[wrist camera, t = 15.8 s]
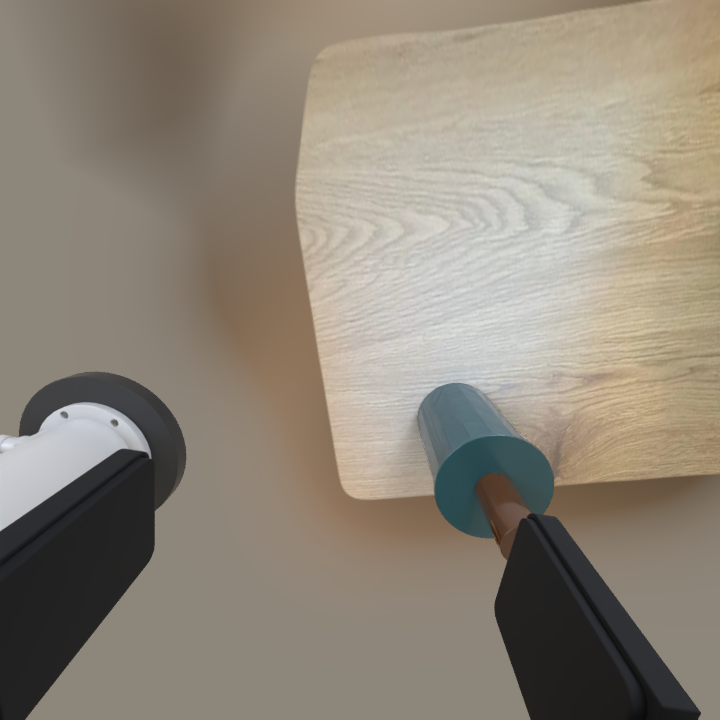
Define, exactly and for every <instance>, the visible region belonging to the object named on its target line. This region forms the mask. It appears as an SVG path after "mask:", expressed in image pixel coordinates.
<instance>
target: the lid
mask: <svg viewBox="0 0 720 720" xmlns="http://www.w3.org/2000/svg"><path fill="white" fill-rule="evenodd" d="M553 492H554V476H553V471H552V469H551V466H550V464H549V462H548V460H547V458H546V457H545V456H544V455H543V453H542V452H541V451H540V450H539V449H538V448H537V447H536V446H535V445H533V444H532V443H530V442H529V441H527V440H525V439H523V438H522V437H519V436H516V435H513V434H508V433H500V432H493V433H484V434H479V435H476V436H473V437H470V438H468V439H466V440H464V441H462V442H460V443H459V444H457V445H456V446H454V447H453V448H452V449H451V450H450V451H449V452H448V453H447V454H446V455H445V456H444V458H443V459H442V461H441V462H440V464H439V466H438V468H437V471H436V474H435V478H434V495H435V499H436V503H437V506H438V508H439V510H440V512H441V514H442V515H443V516H444V518H445V519H446V520H447V521H448V522H449V523H450V524H451V525H452V526H454V527H455V528H457V529H458V530H460V531H462V532H464V533H466V534H469V535H471V536H475V537H480V538H495V540H496V542H497V544H498V547H499V549H500V551H501V554H502V555H503V557H504V558H505V559H506V560H507V561H508V558H509V554H510V551H511V548H512V545H513V541H514V538H515V535H516V532H517V529H518V525H519V522H520V520H521V519H522V518H527V516H528V515H529V514H530V513H535V514H541V515H543V514H544V512H545V511H546V509H547V508H548V506H549V504H550V502H551V499H552V496H553Z"/></svg>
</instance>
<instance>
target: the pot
mask: <svg viewBox="0 0 720 720" xmlns="http://www.w3.org/2000/svg"><path fill="white" fill-rule="evenodd" d="M418 426H419V430H420V434H421V438H422V442H423V445H424V449H425V452H426V456H427V460H428V463H429V467H430V471H431V474H432V478H433V482H434V478H435V474H436V471H437V468H438V466H439V464H440V462H441V461H442V459H443V458H444V456H445V455H446V454H447V453H448V452H449V451H450V450H451V449H452V448H453V447H454V446H456V445H457V444H459V443H460V442H462V441H464V440H466V439H468V438H470V437H473V436H476V435H479V434H484V433H493V432H500V433H508V434H513V435H516V436H519V437H522V436H521V435H520V434H519V433H518V432H517V431H516V429H515V428H514V427H513V426H512V425H511V424H510V423H509V422H508V420H507V419H506V418H505V417H504V416H503V415H502V414H501V413H500V411H499V410H498V409H497V408H496V407H495V406H494V405H493V403H492V402H491V401H490V400H489V399H488V398H487V397H486V396H485V394H483V393H482V392H481V391H479V390H478V389H476V388H474V387H473V386H470V385H467V384H462V383H452V384H446V385H443V386H441V387H438V388H436V389H435V390H433V391H432V392H431V393H429V394H428V395H427V396H426V398H425V399H424V400H423V402H422V404H421V406H420V408H419V412H418ZM522 438H523V437H522ZM523 439H524V438H523Z"/></svg>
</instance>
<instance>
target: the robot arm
mask: <svg viewBox="0 0 720 720" xmlns="http://www.w3.org/2000/svg"><path fill="white" fill-rule="evenodd" d="M154 513H155V464H154V461H153V459H152V457H151V451H150V448H149V445H148V443H147V440H146V439H145V437H144V435H143V434H142V432H141V431H140V430H139V428H138V427H137V426H136V425H135V423H133V422H132V421H131V420H130V419H129V418H128V417H127V416H125V415H124V414H122V413H120V412H119V411H117V410H115V409H113V408H111V407H108V406H106V405H102V404H98V403H90V402H82V403H74V404H71V405H68V406H65V407H63V408H61V409H59V410H57V411H55V412H53V413H52V414H51V415H50V416H48V417H47V418H46V420H45V421H44V422H43V423H42V425H41V427H40V430H39V432H38V433H36V434H34V435H32V436H26V435H25V436H21V437H19V438H16V437H14V436H9V435H2V434H0V720H25V719H26V718H27V716H28V715H29V714H30V712H31V711H32V710H33V709H34V707H35V706H36V705H37V704H38V702H39V701H40V700H41V699H42V697H43V696H44V695H45V693H46V692H47V691H48V690H49V688H50V687H51V686H52V685H53V683H54V682H55V681H56V679H57V678H58V677H59V676H60V674H61V673H62V672H63V671H64V669H65V668H66V667H67V665H68V664H69V663H70V662H71V660H72V659H73V658H74V657H75V655H76V654H77V653H78V652H79V650H80V649H81V648H82V646H83V645H84V644H85V643H86V641H87V640H88V639H89V638H90V636H91V635H92V634H93V632H94V631H95V630H96V629H97V627H98V626H99V625H100V624H101V622H102V621H103V620H104V618H105V617H106V616H107V615H108V613H109V612H110V611H111V610H112V608H113V607H114V605H115V604H116V603H117V602H118V601H119V599H120V598H121V597H122V596H123V594H124V593H125V592H126V590H127V589H128V588H129V586H130V585H131V584H132V583H133V582H134V580H135V579H136V578H137V576H138V575H139V574H140V573H141V571H142V570H143V569H144V568H145V566H146V565H147V564H148V562H149V561H150V559H151V557H152V554H153V551H154V545H155V541H154V540H155V530H154V529H155V528H154V527H155V523H154V522H155V514H154ZM494 608H495V617H496V620H497V623H498V626H499V629H500V632H501V635H502V638H503V641H504V644H505V646H506V649H507V652H508V655H509V658H510V661H511V664H512V667H513V669H514V673H515V676H516V678H517V681H518V684H519V687H520V690H521V693H522V696H523V698H524V701H525V704H526V707H527V710H528V713H529V716H530V719H531V720H698V718H699V716H700V714H701V712H700V711H699V710H698V708H697V707H696V705H695V704H694V703H693V701H692V700H691V699H690V697H689V696H688V695H687V693H686V692H685V691H684V689H683V688H682V687H681V685H680V684H679V682H678V681H677V680H676V678H675V677H674V676H673V674H672V673H671V672H670V670H669V669H668V667H667V666H666V665H665V663H664V662H663V661H662V659H661V658H660V657H659V655H658V654H657V653H656V651H655V650H654V649H653V647H652V646H651V644H650V643H649V642H648V640H647V639H646V638H645V636H644V635H643V634H642V632H641V631H640V630H639V628H638V627H637V625H636V624H635V623H634V621H633V620H632V619H631V617H630V616H629V615H628V613H627V612H626V611H625V609H624V608H623V607H622V605H621V604H620V602H619V601H618V600H617V598H616V597H615V596H614V594H613V593H612V592H611V590H610V589H609V587H608V586H607V585H606V583H605V582H604V581H603V579H602V578H601V577H600V575H599V574H598V573H597V572H596V570H595V569H594V567H593V566H592V564H591V563H590V562H589V560H588V559H587V558H586V556H585V555H584V554H583V552H582V551H581V549H580V548H579V547H578V545H577V544H576V543H575V541H574V540H573V539H572V537H571V536H570V535H569V533H568V532H567V531H566V529H565V528H564V526H563V525H562V524H561V522H560V521H559V520H558V519H557V518H556V517H553V516H548V515H541V514H535V513H530V514H529V515H528V516H527V518H522V519H521V520H520V522H519V525H518V529H517V532H516V535H515V538H514V541H513V545H512V548H511V551H510V554H509V558H508V561H507V564H506V568H505V571H504V574H503V578H502V580H501V584H500V587H499V591H498V594H497V597H496V600H495V607H494Z"/></svg>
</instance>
